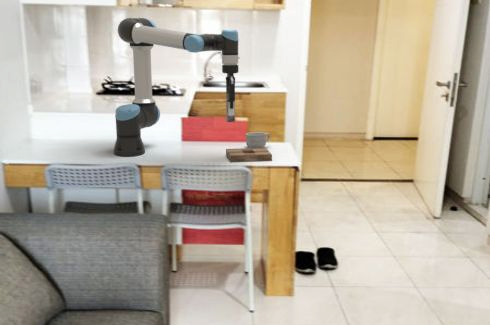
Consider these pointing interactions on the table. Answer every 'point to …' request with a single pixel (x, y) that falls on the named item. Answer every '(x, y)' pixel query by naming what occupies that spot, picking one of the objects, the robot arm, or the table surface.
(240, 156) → the socket block
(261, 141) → the teacup
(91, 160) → the table surface
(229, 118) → the peg
